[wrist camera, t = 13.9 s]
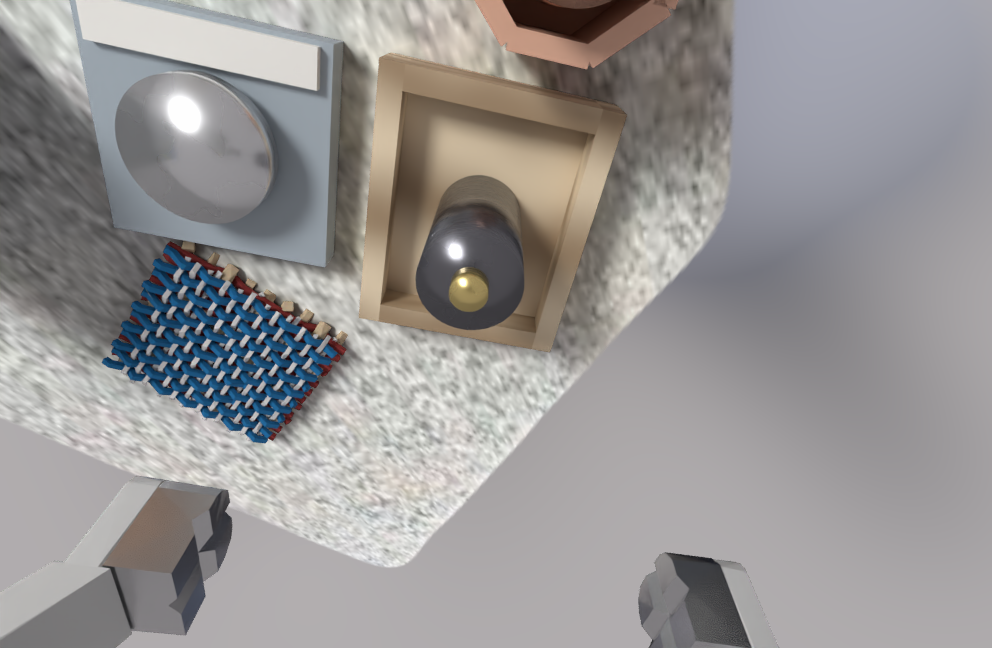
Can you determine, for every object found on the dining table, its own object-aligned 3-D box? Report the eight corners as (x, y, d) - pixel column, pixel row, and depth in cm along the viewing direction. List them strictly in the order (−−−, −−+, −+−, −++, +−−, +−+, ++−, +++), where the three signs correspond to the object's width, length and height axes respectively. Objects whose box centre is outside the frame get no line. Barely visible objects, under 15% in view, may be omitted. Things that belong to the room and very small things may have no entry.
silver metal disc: (121, 54, 20) (101, 56, 19) (277, 88, 21) (265, 92, 20) (144, 199, 23) (128, 208, 22) (279, 226, 24) (269, 236, 23)
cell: (445, 166, 24) (419, 231, 17) (529, 185, 24) (537, 255, 17) (432, 245, 26) (405, 330, 19) (510, 261, 26) (510, 350, 19)
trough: (391, 52, 22) (379, 57, 20) (616, 104, 23) (627, 114, 21) (369, 295, 28) (358, 317, 26) (546, 327, 29) (550, 352, 27)
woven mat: (277, 434, 35) (265, 457, 33) (117, 350, 31) (94, 370, 29) (359, 334, 30) (350, 354, 28) (184, 223, 27) (161, 238, 25)
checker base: (93, -18, 21) (58, -19, 19) (343, 41, 22) (330, 44, 20) (133, 216, 26) (108, 230, 24) (333, 254, 27) (322, 271, 25)
